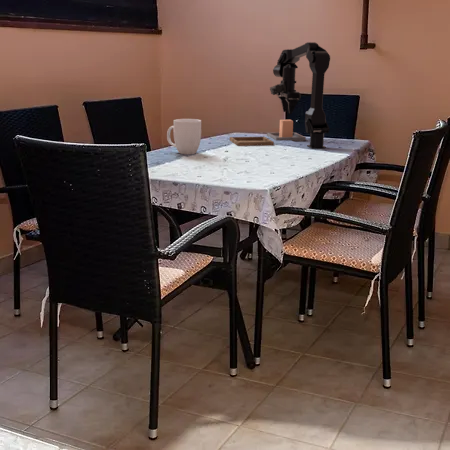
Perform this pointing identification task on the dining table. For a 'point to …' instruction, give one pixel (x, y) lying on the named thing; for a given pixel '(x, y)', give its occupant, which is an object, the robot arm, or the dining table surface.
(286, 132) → the block
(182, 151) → the mug
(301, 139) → the tray
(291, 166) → the dining table surface
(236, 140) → the dish
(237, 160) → the dining table surface
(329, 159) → the dining table surface
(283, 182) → the dining table surface
